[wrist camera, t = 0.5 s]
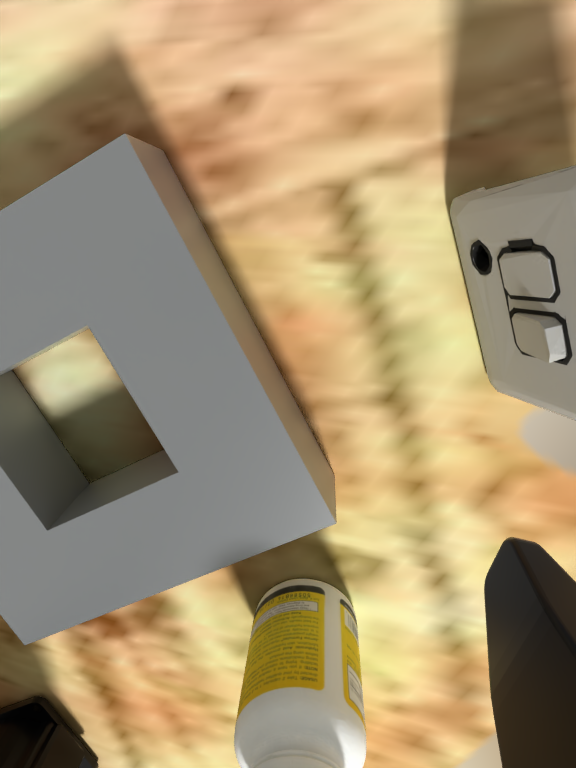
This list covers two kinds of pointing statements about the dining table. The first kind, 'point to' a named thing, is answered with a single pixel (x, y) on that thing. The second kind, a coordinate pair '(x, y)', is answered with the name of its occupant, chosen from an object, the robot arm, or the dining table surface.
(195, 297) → the socket block
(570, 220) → the electrical switch
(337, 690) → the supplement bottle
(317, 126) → the dining table surface
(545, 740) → the robot arm
